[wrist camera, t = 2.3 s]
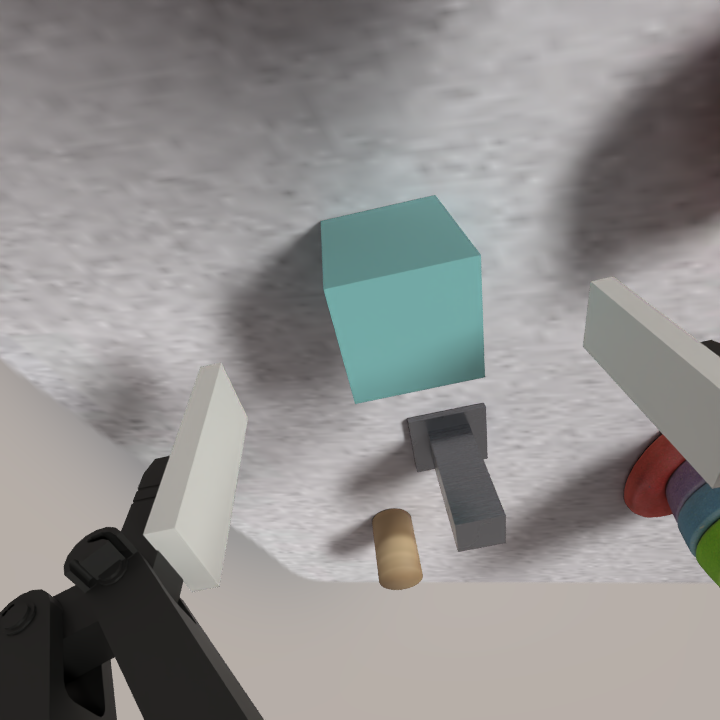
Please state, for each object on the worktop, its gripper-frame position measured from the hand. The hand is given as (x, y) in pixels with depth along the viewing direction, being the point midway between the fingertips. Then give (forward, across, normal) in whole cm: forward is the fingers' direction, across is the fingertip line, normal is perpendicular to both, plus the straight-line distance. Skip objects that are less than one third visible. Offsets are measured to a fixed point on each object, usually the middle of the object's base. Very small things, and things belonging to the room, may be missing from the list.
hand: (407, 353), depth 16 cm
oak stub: (+7, -3, -20) cm, 22 cm away
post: (+7, +2, -12) cm, 14 cm away
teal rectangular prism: (+7, 0, 0) cm, 7 cm away
